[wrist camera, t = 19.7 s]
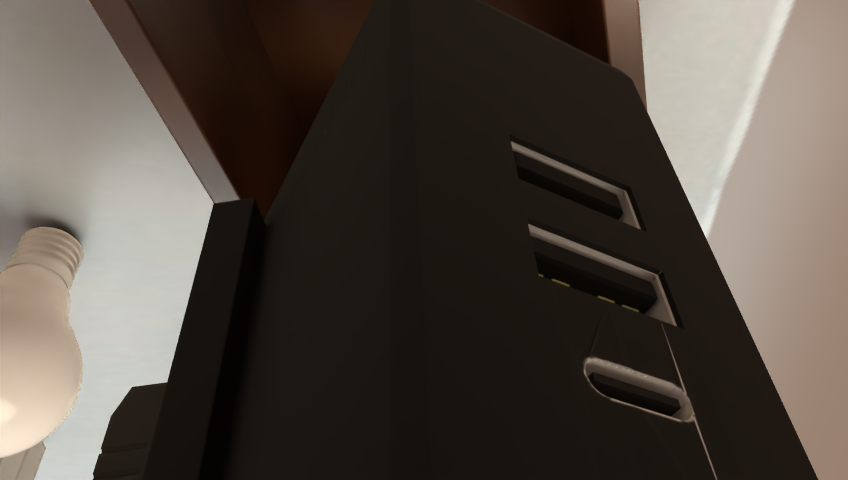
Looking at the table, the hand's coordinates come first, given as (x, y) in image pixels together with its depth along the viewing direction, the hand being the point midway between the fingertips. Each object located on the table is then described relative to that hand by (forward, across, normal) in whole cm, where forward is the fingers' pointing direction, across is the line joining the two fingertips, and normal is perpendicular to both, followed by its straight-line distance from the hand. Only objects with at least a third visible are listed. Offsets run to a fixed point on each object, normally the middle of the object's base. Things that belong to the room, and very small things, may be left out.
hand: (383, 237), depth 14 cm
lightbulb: (+16, -18, -11) cm, 27 cm away
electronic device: (+1, 0, 0) cm, 1 cm away
